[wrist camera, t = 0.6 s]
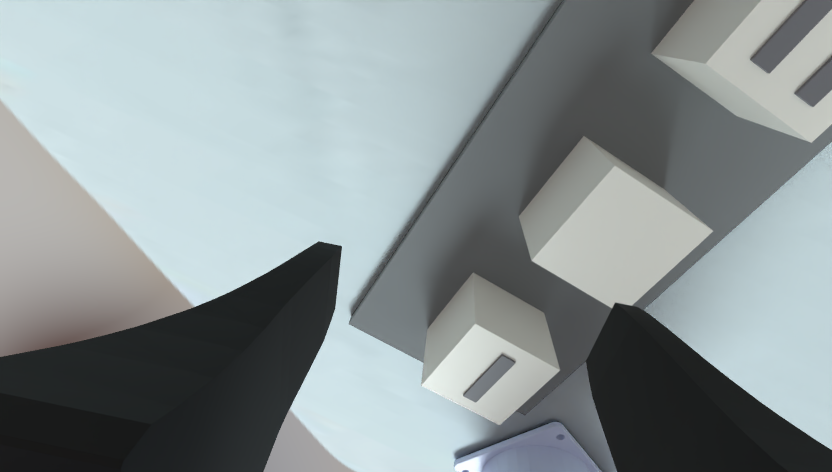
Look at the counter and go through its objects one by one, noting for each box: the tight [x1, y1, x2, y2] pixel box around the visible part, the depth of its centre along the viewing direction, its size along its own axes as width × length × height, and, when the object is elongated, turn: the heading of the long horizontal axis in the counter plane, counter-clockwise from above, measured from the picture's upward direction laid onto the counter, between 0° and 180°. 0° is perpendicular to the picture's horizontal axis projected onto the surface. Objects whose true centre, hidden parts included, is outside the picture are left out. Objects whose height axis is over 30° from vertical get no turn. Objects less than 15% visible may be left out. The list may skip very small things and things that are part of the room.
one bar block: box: [421, 273, 560, 425], centre depth 20 cm, size 4×4×4 cm
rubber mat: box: [349, 0, 832, 415], centre depth 19 cm, size 25×12×1 cm, turn 149°
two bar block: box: [651, 0, 832, 143], centre depth 13 cm, size 4×4×4 cm
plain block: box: [519, 136, 713, 308], centre depth 17 cm, size 4×4×4 cm
